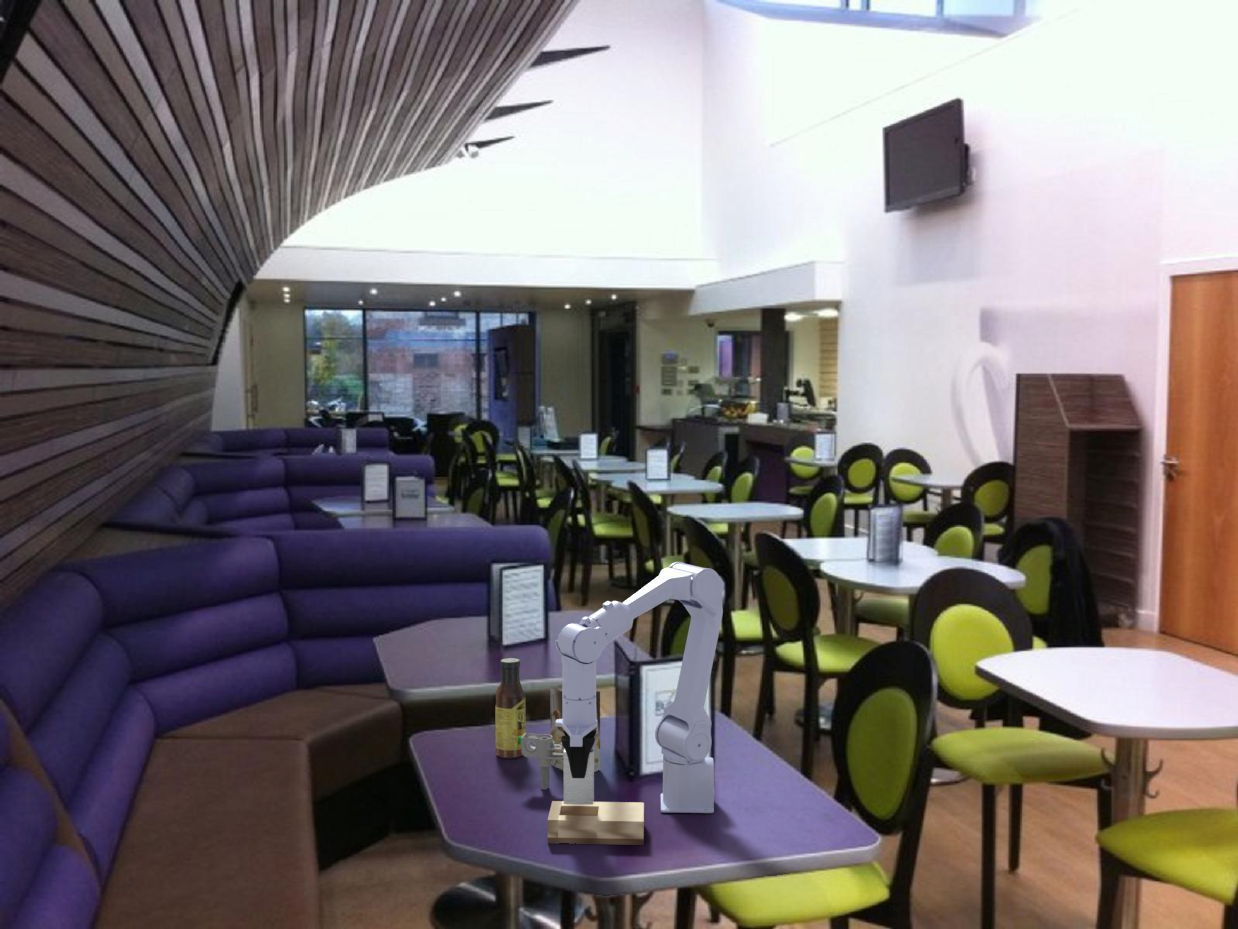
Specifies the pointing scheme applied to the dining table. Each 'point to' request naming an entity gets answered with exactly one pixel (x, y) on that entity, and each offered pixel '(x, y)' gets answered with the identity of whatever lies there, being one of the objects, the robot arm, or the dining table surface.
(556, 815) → the slotted wooden block
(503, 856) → the dining table surface
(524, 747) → the mechanical component
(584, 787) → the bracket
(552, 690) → the coffee box
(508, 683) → the sauce bottle
